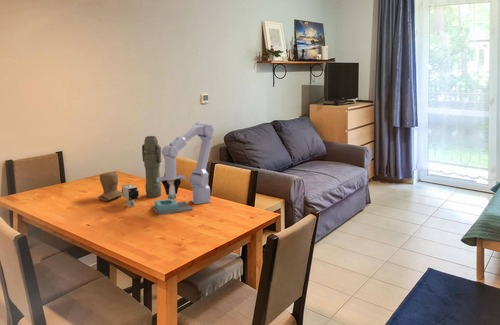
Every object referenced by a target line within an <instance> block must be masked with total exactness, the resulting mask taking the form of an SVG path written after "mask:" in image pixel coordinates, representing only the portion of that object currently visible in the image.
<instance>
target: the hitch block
mask: <svg viewBox="0 0 500 325" xmlns="http://www.w3.org/2000/svg"><path fill="white" fill-rule="evenodd" d="M151 207H152V208H153V210H154V211H155V213H156V214H157V216H160V215H169V214H176V213H184V212H190V211H193V207H191V206H190V205H189V203H188V202H186V201H185V200H183V201H176V200H175V199H168V198H167V199H158V200H154V204H152V206H151Z"/></svg>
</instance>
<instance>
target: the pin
mask: <svg viewBox="0 0 500 325" xmlns="http://www.w3.org/2000/svg"><path fill="white" fill-rule="evenodd" d="M176 196H177V194H176V189H175V182H174V181H172V182H171V181H168V195H167V199H174V200H175V199H176V198H177V197H176Z"/></svg>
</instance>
